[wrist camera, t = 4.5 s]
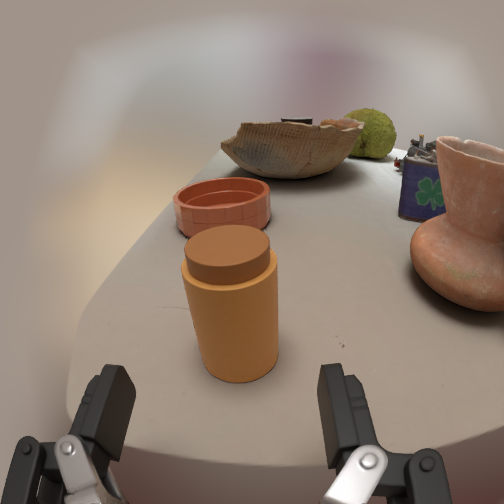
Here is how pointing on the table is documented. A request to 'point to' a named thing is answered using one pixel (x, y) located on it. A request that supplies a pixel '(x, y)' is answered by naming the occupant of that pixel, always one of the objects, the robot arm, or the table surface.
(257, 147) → the ceramic bowl
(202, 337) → the orange lidded canister
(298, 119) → the coffee mug
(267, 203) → the terracotta bowl
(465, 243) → the ceramic jug
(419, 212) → the flask
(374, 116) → the fruit
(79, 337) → the table surface
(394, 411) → the table surface
